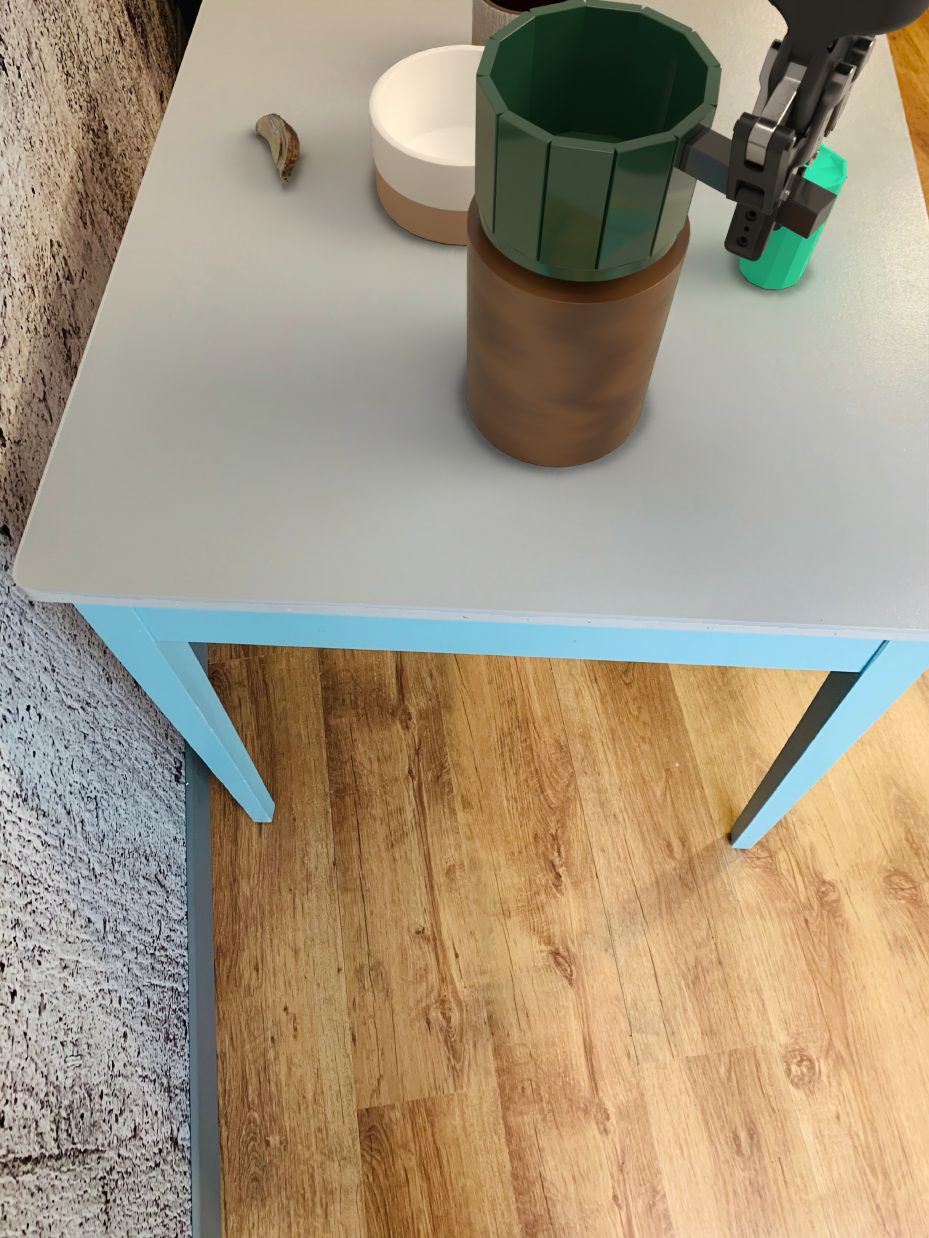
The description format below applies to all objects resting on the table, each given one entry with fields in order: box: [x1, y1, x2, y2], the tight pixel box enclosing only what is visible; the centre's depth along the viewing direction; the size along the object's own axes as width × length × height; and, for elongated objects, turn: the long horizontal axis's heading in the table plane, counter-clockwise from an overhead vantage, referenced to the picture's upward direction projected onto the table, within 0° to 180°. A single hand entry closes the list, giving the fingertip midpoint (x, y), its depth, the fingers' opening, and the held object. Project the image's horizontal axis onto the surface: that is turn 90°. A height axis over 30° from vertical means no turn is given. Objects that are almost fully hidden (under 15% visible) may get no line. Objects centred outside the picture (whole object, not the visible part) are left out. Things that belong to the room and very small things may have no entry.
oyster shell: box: [254, 112, 301, 184], centre depth 85 cm, size 6×4×10 cm
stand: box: [466, 194, 691, 468], centre depth 65 cm, size 15×15×18 cm
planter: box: [471, 0, 572, 46], centre depth 87 cm, size 11×11×10 cm
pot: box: [475, 0, 838, 282], centre depth 51 cm, size 22×14×9 cm, turn 48°
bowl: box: [368, 44, 485, 246], centre depth 81 cm, size 17×17×8 cm
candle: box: [738, 142, 848, 291], centre depth 74 cm, size 6×6×12 cm
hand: (753, 236), depth 49 cm, fingers closed on pot, 2 cm apart
